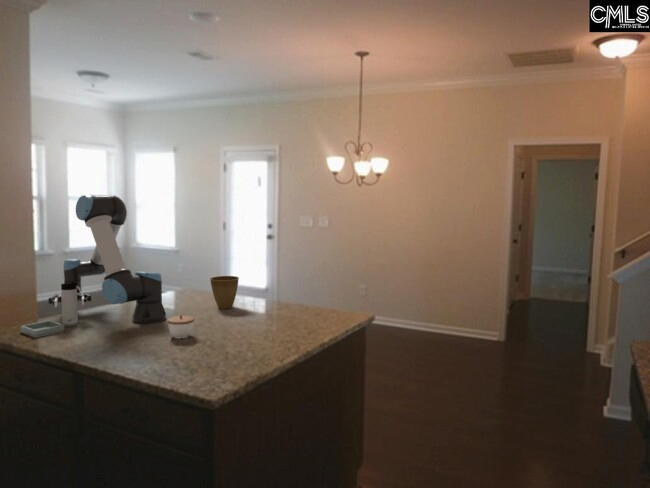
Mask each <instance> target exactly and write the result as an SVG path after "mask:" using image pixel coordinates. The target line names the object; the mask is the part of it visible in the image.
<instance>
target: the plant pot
mask: <svg viewBox="0 0 650 488" xmlns="http://www.w3.org/2000/svg"><path fill="white" fill-rule="evenodd" d="M209 280H210V286H211V290H212V295H213V298H214V300H215V303H216V305H217V308H218V309H224V310H226V309H231V308H232V307H233V306H234V302H235V300H236V296H237V291H238V286H239V276H233V275H220V276H219V275H218V276H213V277H211V278H210V279H209Z"/></svg>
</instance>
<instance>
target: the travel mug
mask: <svg viewBox="0 0 650 488" xmlns="http://www.w3.org/2000/svg"><path fill="white" fill-rule="evenodd" d="M76 283H77V282H68V283H65V284H64V283H60V287H61V288H60V289H61V293H60V296H61V298H62V302H61V317H62V318H61V319H62V323H61V324H62V325H64V328H65V327H66V328H67V327H68V328H69V327H75V326H77V325H78V324H79V319H78V318H79V316H78V315H79V314H78V301H77V287H76Z"/></svg>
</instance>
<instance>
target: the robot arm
mask: <svg viewBox="0 0 650 488" xmlns="http://www.w3.org/2000/svg"><path fill="white" fill-rule="evenodd" d="M127 211H128V210H127V207H126V204H125V202H124V201H123V200H122V199H121V198H120V197H118V196H117V195H114V194H82V195H81V196H80V197H79V198H78V199H77V201H76V205H75V215H76V218H77V219H78V220H80V221H84V223H85V227H88V228H90V231H91V233H92V236H93V238H94V242H95V248H94V250H93V253H92V256H91V258H90V260H89V261H88V260H87V261H81V260H80V258H67V259H65V260H64V261H63V279H64V280H63V281H64V282H63V284H65V283H68V282H77V283H76V287H77V302H78V301H80V302H81V306H84V305H85V303H87V302H92V295H90V294H89V293H88V292H86V291H85V292H84V293H81V292H82V289H83V288H82V277H90V276H91V277H92V276H100V275H103V274H105V276H104V278H103V279H104V281H102V283H101V288H102V289H101V292H102V296H104V298H105V300H106V301H107V302H108V303H110V304H112V305H117V304H118V305H120V304H121V305H123V304H125V303H130V302H131V303H132V302H136V303H135V307H134V310H133V314H132V321H133V322H134V323H139V324H152V323H159V322H162V321H164V320H166V319H167V313H166V311H165V307H164V305H163V298H162V297H163V296H162V295H163V294H162V293H163V292H162V283H163V280H162V279H163V278H162V274H161V273H159V272H157V271H147V270H146V271H144V270H141V271H140V270H138V271H135V274H134V275H133V274H132V272H131V269H129V268H127V267H126V265H125V262H124V259H123V257H122V254H121V253H122V252H121V251H120V248H119V244H118V243H117V237H118V234H119V231H120V229H121V227H122V226H123V225H125V222H126V219H127V216H128V215H127V214H128V212H127ZM47 300H48V305H52V306H54V308H57V307H58V304H59V303H62V298H61V295H59V294H58V293H55V294H54V295H52V296H51V297H49V298H48V299H47Z"/></svg>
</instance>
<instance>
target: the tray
mask: <svg viewBox="0 0 650 488" xmlns="http://www.w3.org/2000/svg"><path fill="white" fill-rule="evenodd" d="M65 331H66V330H65V326H64V325H63V324H62V323H59V322H56V321H52V320H49V319H48V320H45V321H40V322H34V323H29V324H24V325H21V326H20V333H22V334H24V335H27V336H29V337H32V338H35V339H36V338H39V337H40V338H41V337H44V336H45V337H46V336H50V335H54V334H59V333H63V332H65Z"/></svg>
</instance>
